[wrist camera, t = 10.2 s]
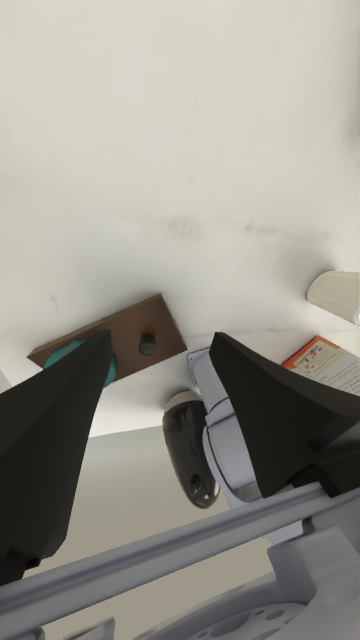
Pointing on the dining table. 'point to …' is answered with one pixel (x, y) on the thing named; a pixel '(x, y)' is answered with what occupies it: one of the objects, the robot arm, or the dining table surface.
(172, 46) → the dining table surface
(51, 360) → the ring
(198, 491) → the pump dispenser
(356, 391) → the cracker box
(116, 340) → the peg rack
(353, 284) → the cream cup
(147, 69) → the dining table surface
